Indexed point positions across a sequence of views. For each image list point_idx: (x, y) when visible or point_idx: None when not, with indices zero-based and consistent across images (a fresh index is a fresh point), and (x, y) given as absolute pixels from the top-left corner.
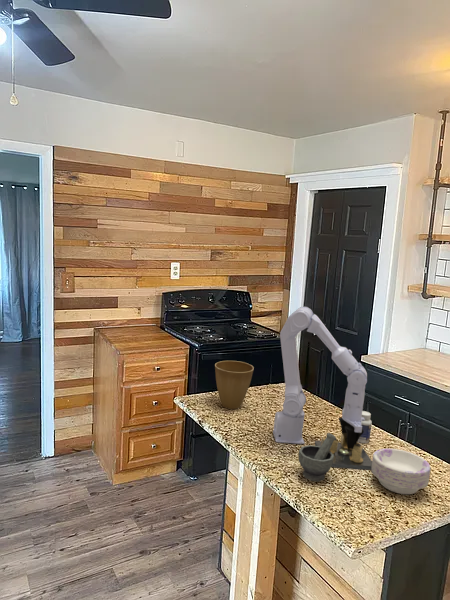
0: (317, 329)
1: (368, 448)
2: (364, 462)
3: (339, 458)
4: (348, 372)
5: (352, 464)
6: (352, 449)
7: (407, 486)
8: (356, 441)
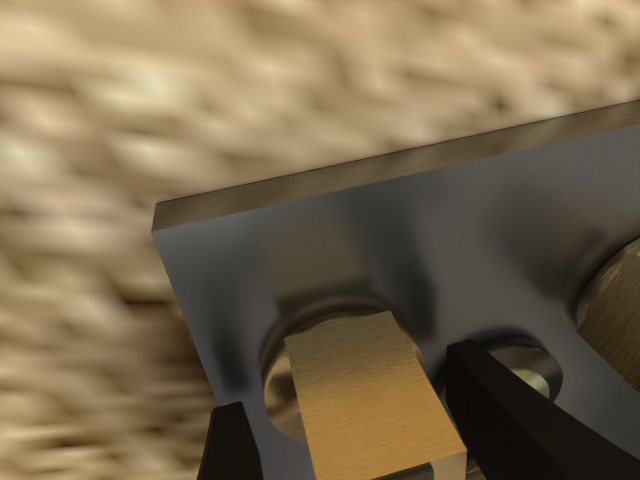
0: None
1: (108, 53)
2: None
3: (594, 408)
4: None
5: None
6: (407, 330)
7: None
8: (570, 424)
